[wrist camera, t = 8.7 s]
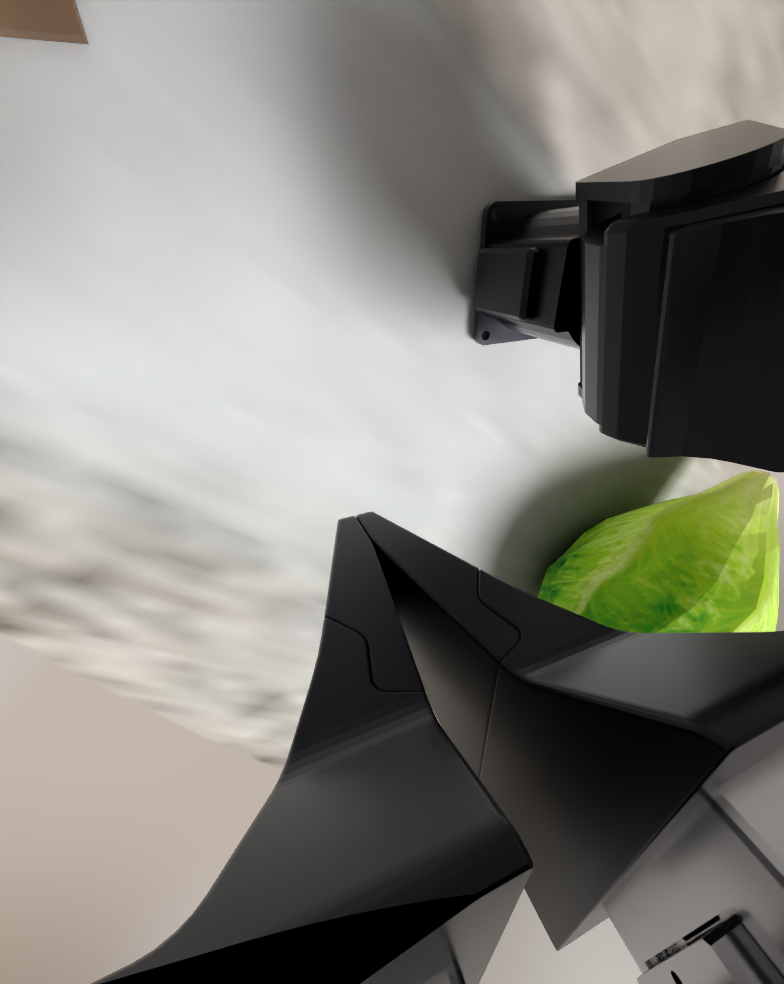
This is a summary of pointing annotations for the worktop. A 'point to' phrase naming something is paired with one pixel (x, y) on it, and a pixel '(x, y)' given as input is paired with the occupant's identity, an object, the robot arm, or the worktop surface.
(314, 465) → the worktop surface
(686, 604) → the lettuce
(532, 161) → the worktop surface
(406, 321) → the worktop surface
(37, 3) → the walnut board
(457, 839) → the robot arm
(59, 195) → the worktop surface
